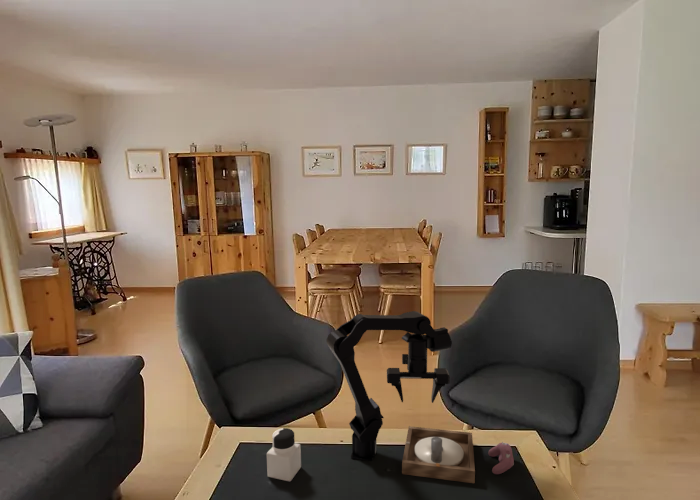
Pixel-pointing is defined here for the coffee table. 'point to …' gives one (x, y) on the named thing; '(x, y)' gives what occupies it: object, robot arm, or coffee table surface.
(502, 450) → the video game controller
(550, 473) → the coffee table surface
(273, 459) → the medicine bottle
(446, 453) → the dial
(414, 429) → the dial frame
